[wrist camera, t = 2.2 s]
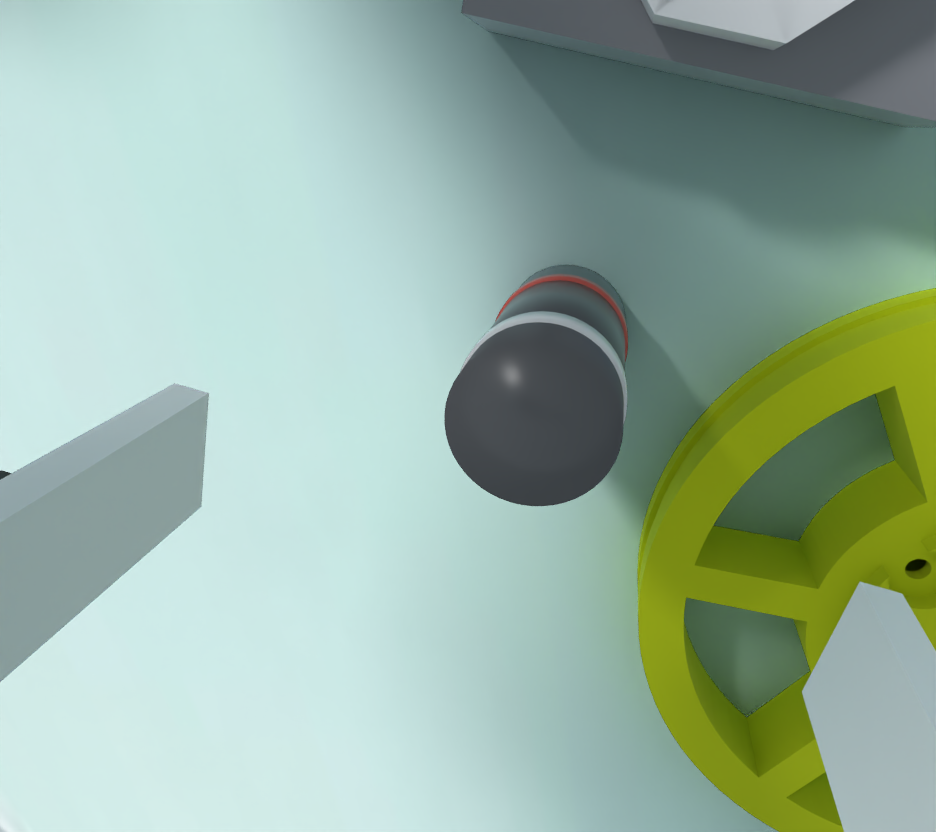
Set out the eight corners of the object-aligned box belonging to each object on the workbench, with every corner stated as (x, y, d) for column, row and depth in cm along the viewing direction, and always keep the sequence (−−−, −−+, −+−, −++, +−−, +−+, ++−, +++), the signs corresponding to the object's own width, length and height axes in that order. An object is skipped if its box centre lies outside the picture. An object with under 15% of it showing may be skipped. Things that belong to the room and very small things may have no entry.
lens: (492, 363, 33) (425, 479, 22) (521, 248, 31) (462, 314, 20) (607, 396, 33) (596, 530, 22) (644, 280, 30) (652, 366, 20)
